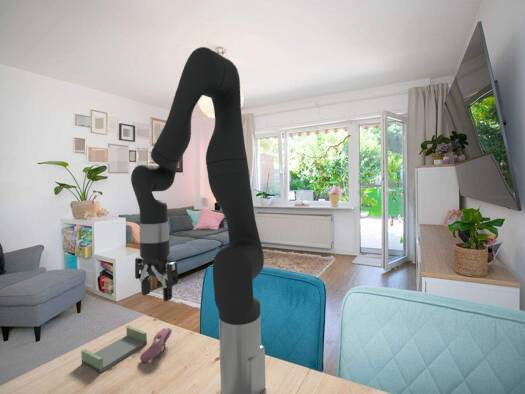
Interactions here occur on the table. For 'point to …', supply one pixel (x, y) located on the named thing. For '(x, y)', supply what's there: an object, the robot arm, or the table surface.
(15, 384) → the table surface
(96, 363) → the tray
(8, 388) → the table surface
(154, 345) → the video game controller
